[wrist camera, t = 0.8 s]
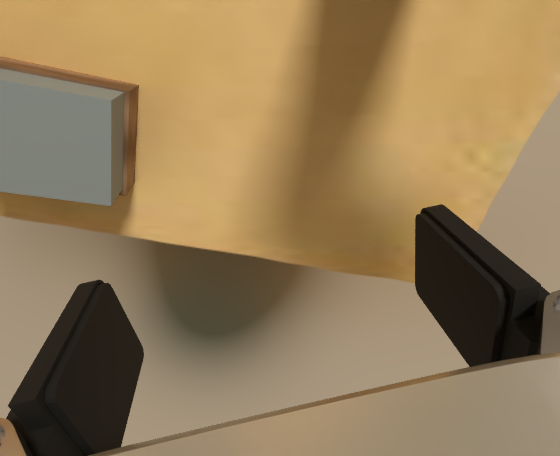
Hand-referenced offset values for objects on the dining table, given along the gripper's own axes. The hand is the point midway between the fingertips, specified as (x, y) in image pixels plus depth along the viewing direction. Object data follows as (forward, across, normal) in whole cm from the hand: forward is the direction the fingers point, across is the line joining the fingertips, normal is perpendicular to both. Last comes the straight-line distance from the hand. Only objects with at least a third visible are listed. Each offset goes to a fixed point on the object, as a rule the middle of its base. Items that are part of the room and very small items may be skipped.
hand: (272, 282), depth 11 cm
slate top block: (+30, +19, -2) cm, 35 cm away
